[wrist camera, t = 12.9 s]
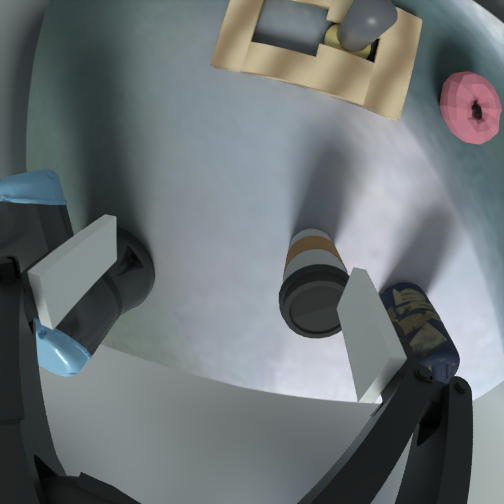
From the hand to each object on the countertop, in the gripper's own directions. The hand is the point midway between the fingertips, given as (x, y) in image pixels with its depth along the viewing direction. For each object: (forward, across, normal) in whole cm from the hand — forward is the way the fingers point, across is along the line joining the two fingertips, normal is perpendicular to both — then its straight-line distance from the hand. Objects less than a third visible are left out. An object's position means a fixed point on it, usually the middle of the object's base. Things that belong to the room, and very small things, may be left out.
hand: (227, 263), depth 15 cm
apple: (+24, +24, +18) cm, 38 cm away
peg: (+25, +8, +21) cm, 33 cm away
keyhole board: (+25, +4, +21) cm, 32 cm away
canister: (+24, +27, -14) cm, 39 cm away
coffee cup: (+25, +10, -9) cm, 28 cm away
